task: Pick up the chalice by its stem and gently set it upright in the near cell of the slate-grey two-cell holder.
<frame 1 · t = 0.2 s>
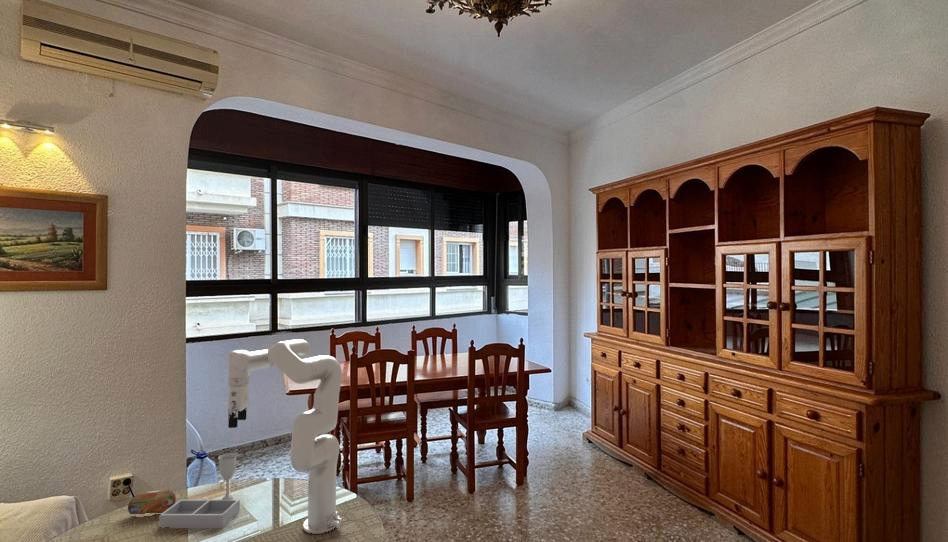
hand: (237, 423, 185), 30 cm above the table, tool pointing down, fingers open, 9 cm apart
holder: (200, 519, 167), on the table
chalice: (227, 502, 181), on the table
tin: (152, 514, 171), on the table
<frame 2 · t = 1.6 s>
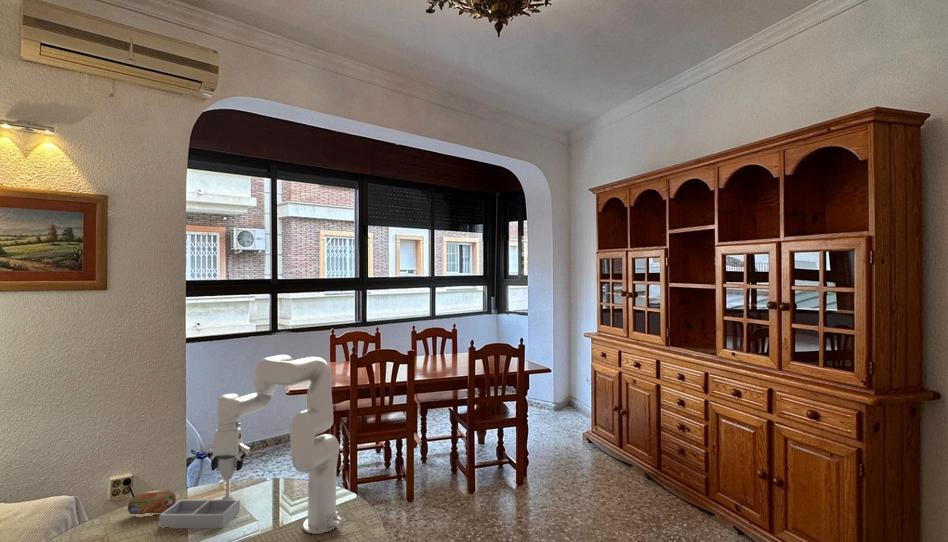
hand: (226, 469, 181), 13 cm above the table, tool pointing down, fingers open, 9 cm apart
nothing on the table moved.
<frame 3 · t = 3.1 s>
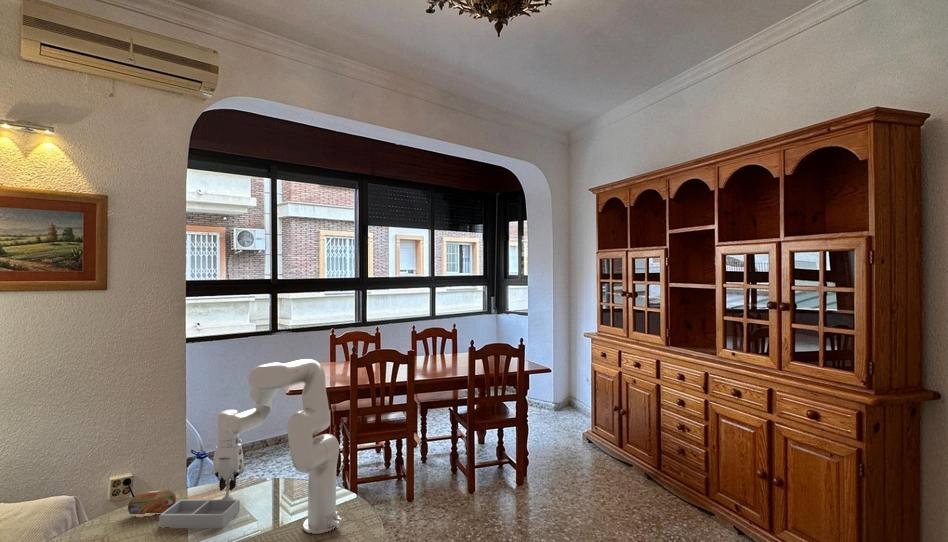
hand: (227, 488, 181), 5 cm above the table, tool pointing down, fingers closed on chalice, 3 cm apart
chalice: (227, 502, 181), on the table, touching gripper
everything else where it was.
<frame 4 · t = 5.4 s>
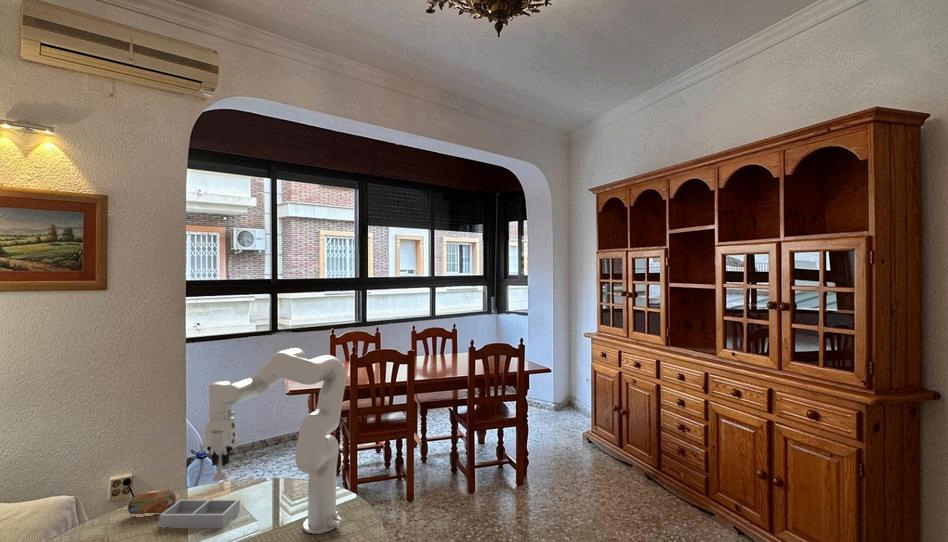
hand: (220, 463, 172), 19 cm above the table, tool pointing down, fingers closed on chalice, 3 cm apart
chalice: (220, 478, 172), point 13 cm above the table, touching gripper
everything else where it was.
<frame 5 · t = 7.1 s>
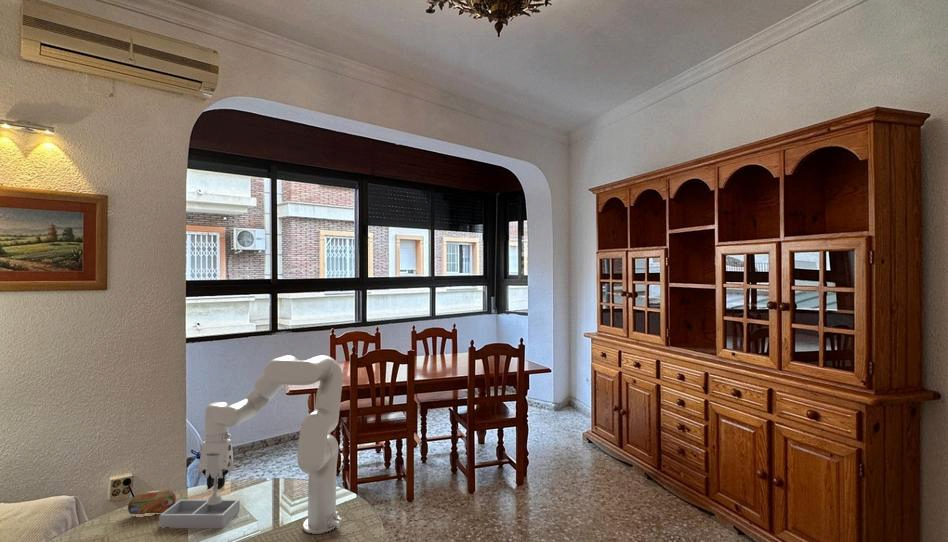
hand: (215, 487, 168), 12 cm above the table, tool pointing down, fingers closed on chalice, 3 cm apart
chalice: (214, 502, 168), point 6 cm above the table, touching gripper
everything else where it was.
when the fingers open (8 cm above the table, at t = 8.1 s): chalice drops 1 cm, resting on holder.
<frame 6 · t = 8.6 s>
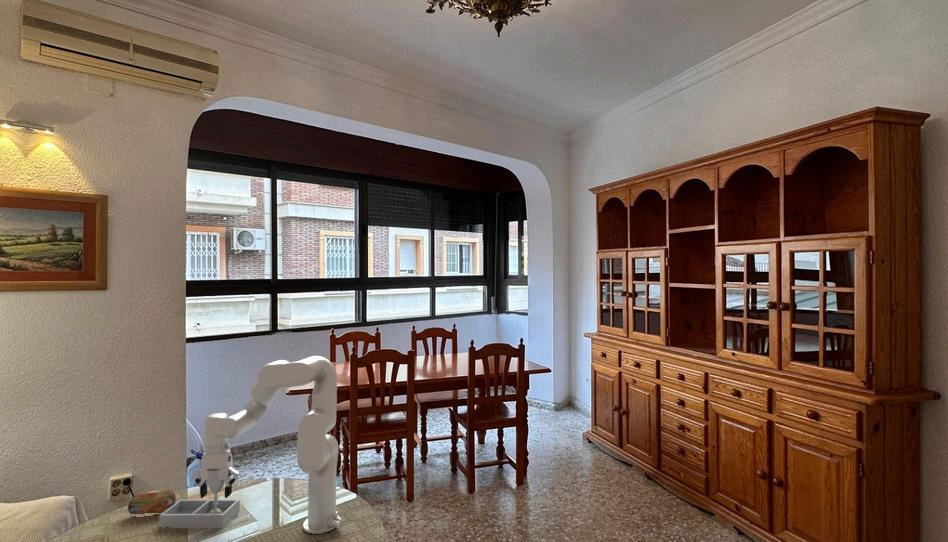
hand: (215, 496, 168), 9 cm above the table, tool pointing down, fingers open, 8 cm apart
chalice: (215, 517, 167), point 1 cm above the table, touching holder
everything else where it was.
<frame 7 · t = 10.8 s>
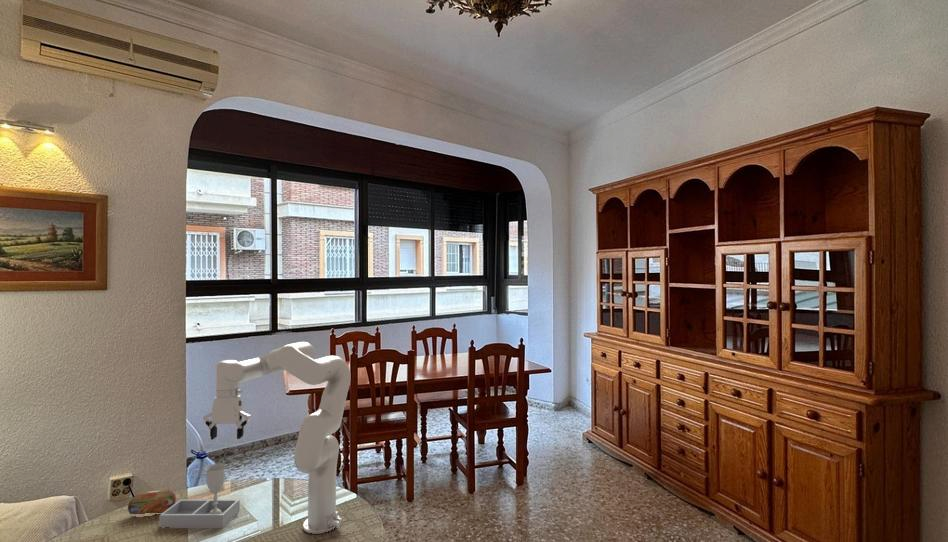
hand: (226, 438, 174), 27 cm above the table, tool pointing down, fingers open, 9 cm apart
nothing on the table moved.
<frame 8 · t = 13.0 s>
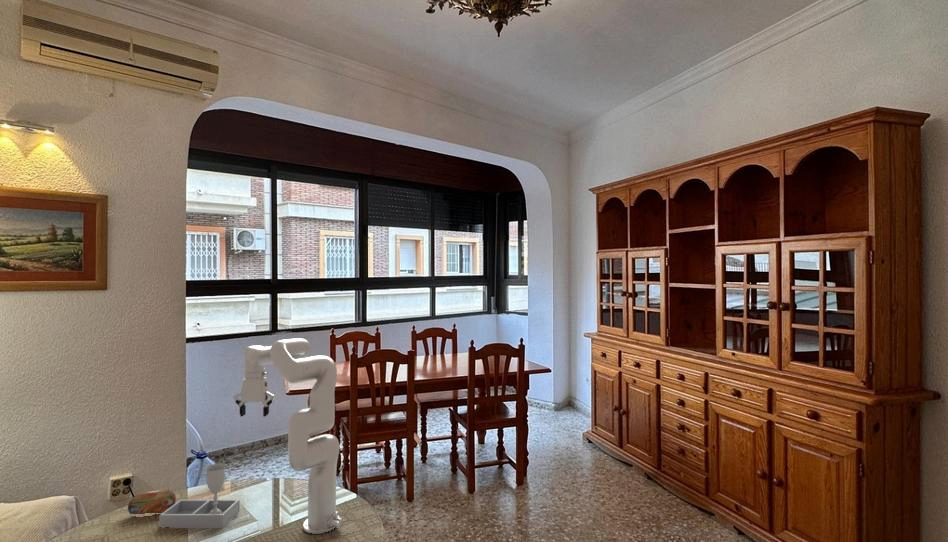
hand: (254, 415, 194), 30 cm above the table, tool pointing down, fingers open, 9 cm apart
nothing on the table moved.
at the end: chalice 0.2 cm from the target spot on the holder, point 0.8 cm above the holder's base; chalice tilted 0°; the gripper is holding nothing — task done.
